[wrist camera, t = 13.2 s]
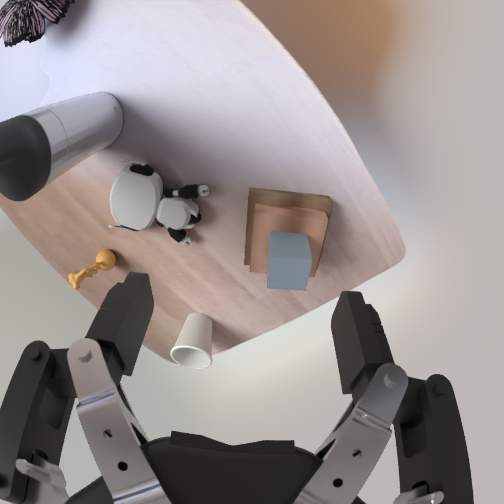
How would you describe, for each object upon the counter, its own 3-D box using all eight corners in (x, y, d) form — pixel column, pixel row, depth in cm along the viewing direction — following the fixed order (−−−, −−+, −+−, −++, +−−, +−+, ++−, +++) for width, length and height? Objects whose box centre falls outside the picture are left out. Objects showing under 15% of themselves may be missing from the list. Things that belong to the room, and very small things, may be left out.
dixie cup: (213, 336, 62) (207, 373, 54) (178, 326, 61) (168, 362, 53) (222, 314, 58) (216, 354, 50) (184, 303, 57) (172, 341, 48)
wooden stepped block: (245, 253, 48) (242, 276, 44) (249, 188, 41) (247, 205, 37) (314, 259, 48) (319, 282, 44) (328, 196, 41) (336, 214, 37)
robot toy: (215, 177, 42) (125, 149, 38) (212, 189, 38) (113, 159, 35) (193, 239, 49) (114, 214, 45) (189, 255, 45) (104, 228, 41)
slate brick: (267, 260, 42) (267, 288, 37) (270, 231, 39) (271, 257, 34) (301, 262, 41) (305, 290, 37) (306, 234, 39) (312, 260, 34)
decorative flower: (63, -11, 15) (-22, 56, 14) (91, 24, 26) (18, 73, 26) (62, -54, 11) (-14, 1, 10) (83, -21, 22) (16, 22, 22)
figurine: (105, 269, 53) (80, 310, 43) (86, 248, 50) (56, 288, 40) (129, 252, 50) (102, 296, 40) (108, 229, 47) (76, 270, 37)
